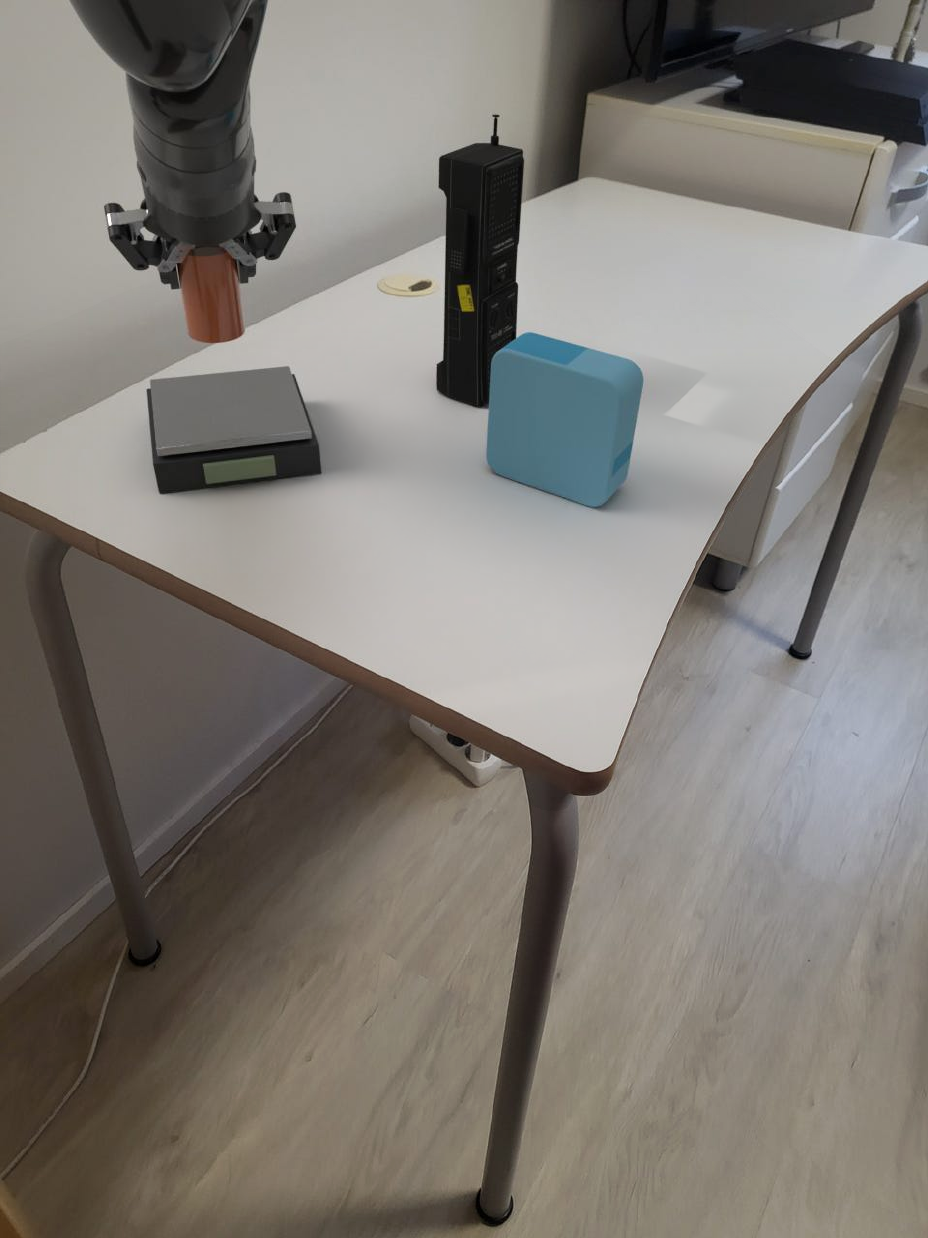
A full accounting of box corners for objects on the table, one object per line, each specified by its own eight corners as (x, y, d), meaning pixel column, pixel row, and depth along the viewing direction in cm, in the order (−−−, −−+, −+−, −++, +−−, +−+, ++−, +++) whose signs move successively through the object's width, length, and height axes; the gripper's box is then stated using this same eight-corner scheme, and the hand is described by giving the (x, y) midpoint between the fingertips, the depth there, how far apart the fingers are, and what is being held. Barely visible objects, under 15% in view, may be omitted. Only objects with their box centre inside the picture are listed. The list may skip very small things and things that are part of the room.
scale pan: (158, 456, 79) (156, 448, 78) (151, 387, 88) (149, 379, 88) (312, 438, 82) (311, 430, 81) (289, 373, 91) (289, 365, 91)
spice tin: (188, 346, 78) (172, 248, 72) (184, 322, 81) (168, 227, 76) (250, 340, 79) (238, 243, 74) (243, 317, 82) (231, 223, 77)
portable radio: (478, 414, 93) (491, 138, 77) (428, 397, 95) (430, 126, 79) (518, 385, 98) (539, 121, 82) (470, 369, 100) (480, 110, 84)
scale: (159, 497, 80) (153, 466, 78) (152, 416, 90) (146, 388, 88) (322, 476, 83) (320, 446, 81) (296, 401, 94) (294, 373, 92)
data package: (626, 489, 83) (647, 362, 75) (604, 513, 80) (624, 383, 72) (508, 450, 88) (517, 326, 80) (484, 471, 85) (490, 345, 77)
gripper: (294, 102, 64) (285, 226, 81) (73, 111, 61) (111, 238, 77) (314, 208, 64) (300, 311, 80) (92, 222, 60) (126, 326, 77)
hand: (207, 275), depth 79 cm, fingers closed on spice tin, 5 cm apart
